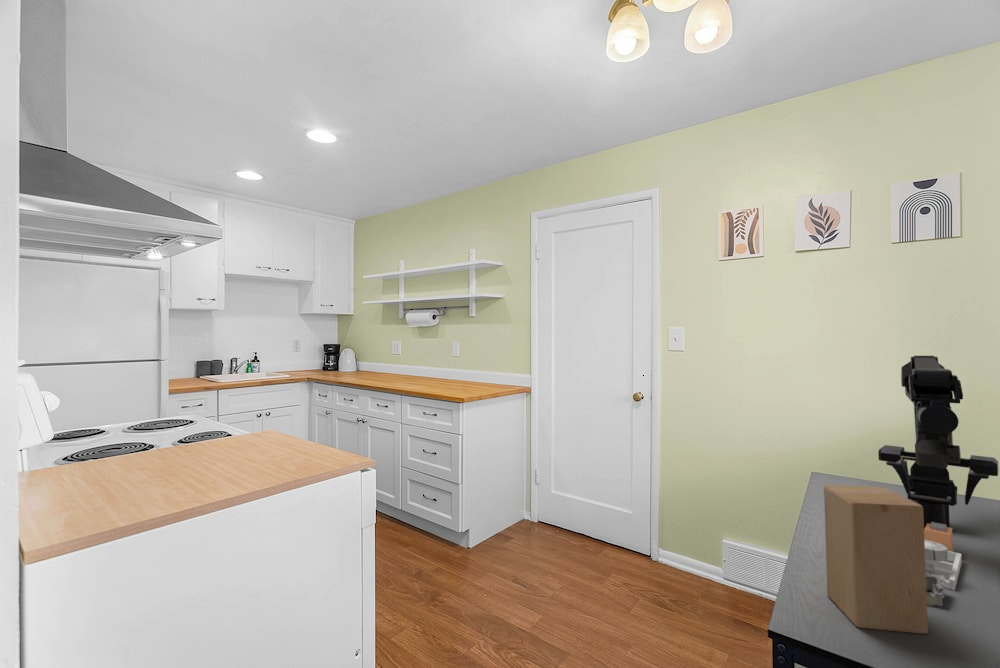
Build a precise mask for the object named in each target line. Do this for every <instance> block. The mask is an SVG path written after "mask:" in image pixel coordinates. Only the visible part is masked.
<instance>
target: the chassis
mask: <svg viewBox="0 0 1000 668" xmlns="http://www.w3.org/2000/svg"><path fill="white" fill-rule="evenodd" d="M962 558H963V557H962V553H960V552H955V551H953V552H952V551H948V559H947V561H935V560H933V561H932V560H927V559H925V568H926V574H928V575H930V574H933V575H937V576H940V575H943V576H944V578H945V583H944V589H949V590H952V591H956V587H957V584H958V579H959V576H960V571H961V567H962V562H963V561H962ZM948 561H949V562H948ZM951 562H952V563H951Z"/></svg>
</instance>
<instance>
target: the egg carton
mask: <svg viewBox="0 0 1000 668" xmlns="http://www.w3.org/2000/svg"><path fill="white" fill-rule="evenodd" d="M944 583H945V578H944V576H943V575H940V576H937V575H933V574H930V575H928V574H926V590H927V591H931V590H933V591H931V593H929V592H926V594H927V606H939V607H943V599H944V600H945V588H944ZM928 589H930V590H928ZM942 598H943V599H942Z"/></svg>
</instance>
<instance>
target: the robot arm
mask: <svg viewBox="0 0 1000 668" xmlns="http://www.w3.org/2000/svg"><path fill="white" fill-rule="evenodd" d="M900 373H901V374H900V377H901V378H900V379H901V380H900V381H901V382H900V383H901V387H902V388H904V391H905V392H904V393H905V396H906V397H907V398H908V399H909V401H911V403H912V404H913V413H914V414H913V416H914V431H915V432H914V433H915V434H914V435H915V444H914V451H906V450H905V447H903V446H896V445H888V444H885V445H883V446H882V447H880V448H879V449H878V461H883V462H885V463H886V465H887V466H891V467H892V468H893V469H894V470H895V472H896V473H897V475H898V477H899V479H900V480H901V482H902V483H901V484H902V486H903V488H904V490H905V492H906V496H907V497H906V498H907V499H909V500H912V501H914V502H916V503H918V504H920V505H922V507H923V515H924V529H925V527H926V525H927V523H929V524H931V522H935V523H940V524H945V525H947V527H948V528H952V532H955V528H954V527H952V526H950V524H951V523H950V521H951V520H950V506H952V507H954V506H956V505H958V502H957V501H958V497H957V496H958V486H956V485H955V483H954V480H953V479H950V471H949V470H948V466H951V467H961V468H967V469H969V470H968V473H967V479H966V480H967V482H966V488H965V492H964V504H965V505H967V506H968V505H969V503H970V501H971V498H972V495H973V493H974V492H975V489H976V487H977V485H978V484H979V482H980V481H981V480H983V479H984V480H989V479H990V476H991V477H998V476H999V460H997V458H996V457H992V456H991V457H990V456H982V455H973V454H971V455H970V457H969V458H963V457H961V448H960V445H958V444H957V445H955V444H954V440H953V438H954V437H953V432H954V431H955V430H957V428H958V426H959V422H960V421H959V417H958V416H957V414H956V413H955V412H954V411H953V410H952V406H951V404H961V400H963V399H964V394H963V393H964V392H963V388H962V383H961V380H960V379H958V376H957V375H955V374H954V375H953V372H952V370H950V369H948V368H945V366H943V365H942V364H941V363H939V359H938V356H935V355H913V356H910V361H909V362H907V363H905V364H904V365H902V366H901V372H900ZM907 461H914V462H913V464H912V465H911V466H910V469H908V468H909V467H908V462H907Z"/></svg>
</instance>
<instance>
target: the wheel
mask: <svg viewBox="0 0 1000 668" xmlns="http://www.w3.org/2000/svg"><path fill="white" fill-rule="evenodd" d="M924 542H925V559H927V560H932V561H933V560H935V561H944V562H948V560H947V559H948V551H947V547H946V546H944V545H942V544H939V543H936V542H933V541H928V540H925V539H924Z"/></svg>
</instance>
